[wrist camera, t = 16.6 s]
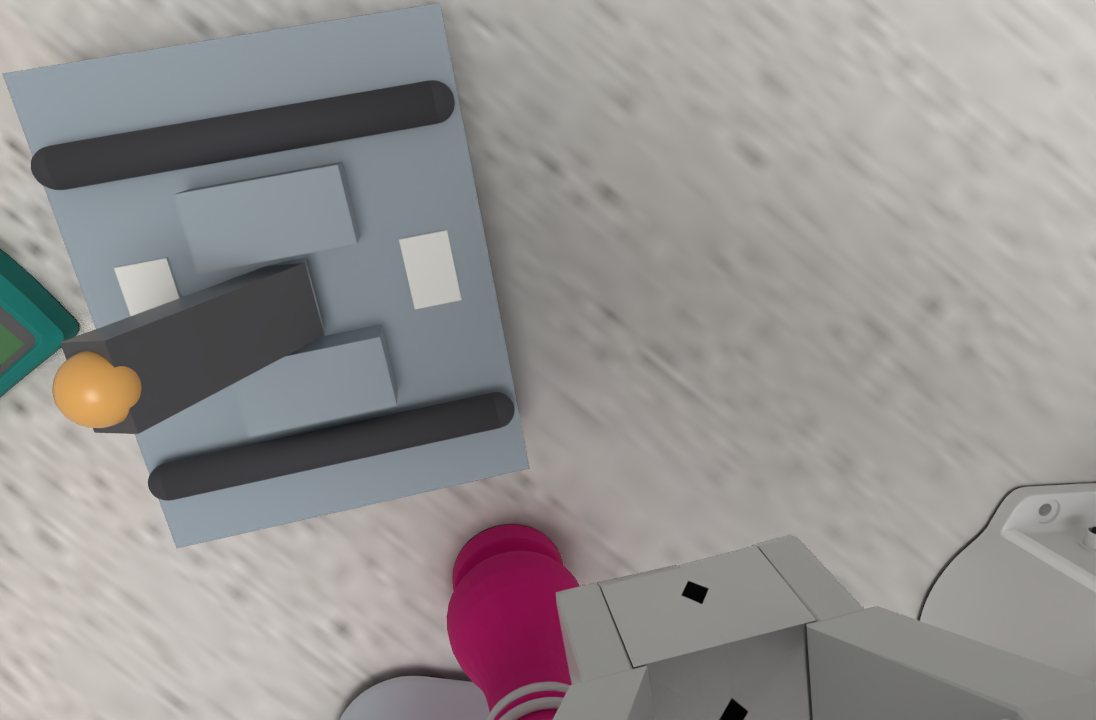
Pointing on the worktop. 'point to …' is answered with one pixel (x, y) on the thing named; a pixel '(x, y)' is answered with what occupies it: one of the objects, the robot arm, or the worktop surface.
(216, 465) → the dark parallel rails
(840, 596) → the robot arm
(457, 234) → the box
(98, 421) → the breaker lever
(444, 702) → the plastic bottle
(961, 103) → the worktop surface
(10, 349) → the digital multimeter
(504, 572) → the pepper mill
